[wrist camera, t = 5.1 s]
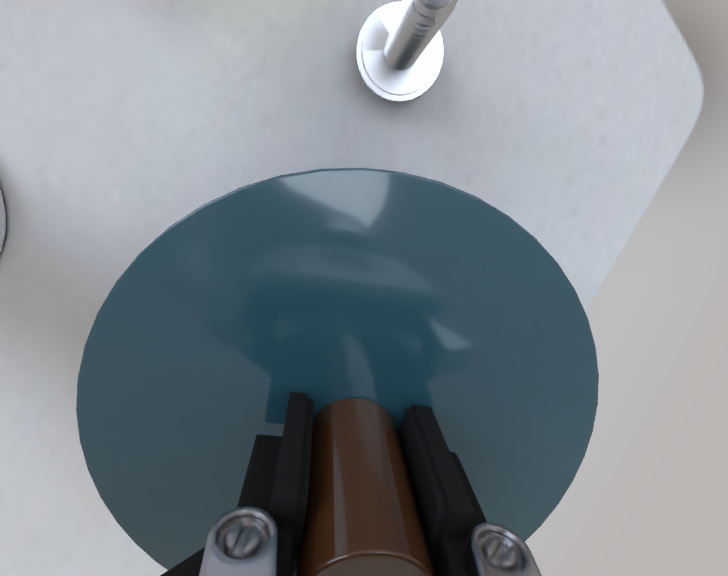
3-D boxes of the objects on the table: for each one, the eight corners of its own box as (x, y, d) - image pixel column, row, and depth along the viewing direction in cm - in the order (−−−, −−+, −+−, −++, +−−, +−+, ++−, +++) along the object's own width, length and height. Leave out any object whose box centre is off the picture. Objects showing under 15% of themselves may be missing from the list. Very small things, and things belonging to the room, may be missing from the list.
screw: (439, 98, 24) (362, 112, 24) (429, 9, 23) (347, 23, 23) (544, 28, 12) (389, 56, 12) (538, -177, 11) (360, -146, 10)
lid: (93, 115, 10) (-237, 46, 4) (645, 218, 12) (943, 268, 6) (101, 576, 15) (-53, 856, 9) (505, 592, 17) (602, 826, 11)
